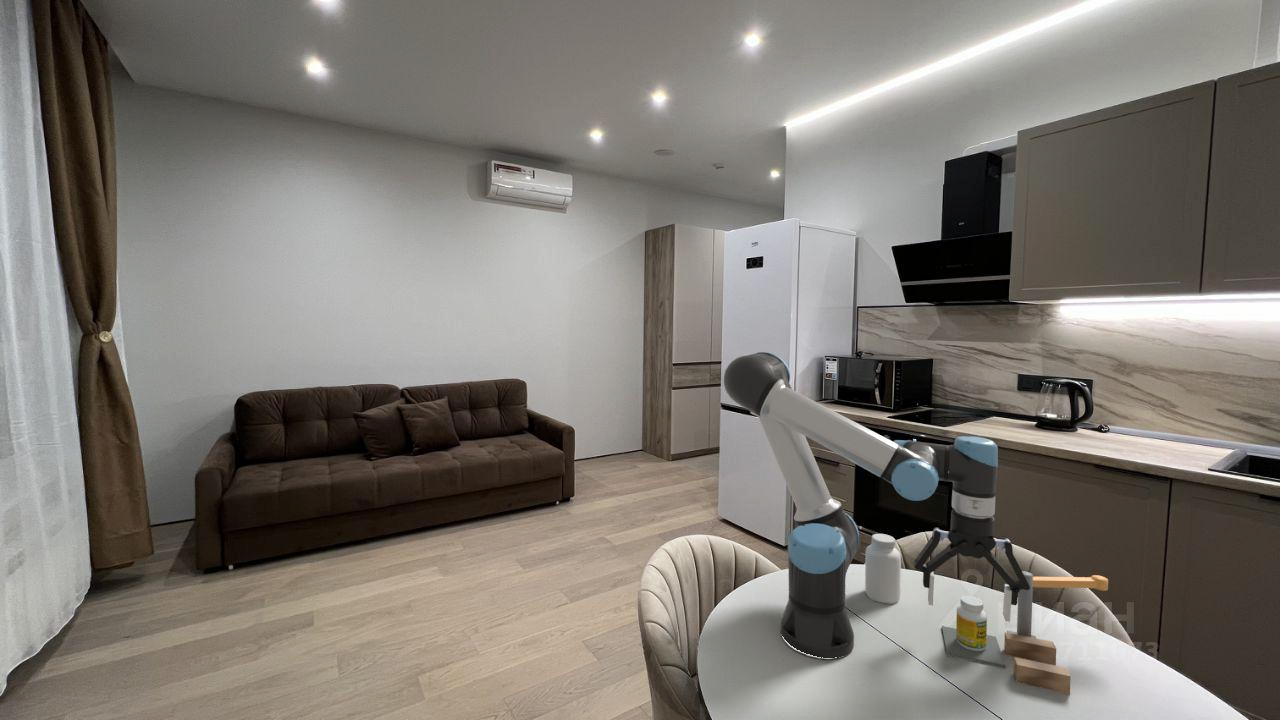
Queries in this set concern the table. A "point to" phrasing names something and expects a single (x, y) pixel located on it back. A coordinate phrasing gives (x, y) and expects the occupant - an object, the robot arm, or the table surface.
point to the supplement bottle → (971, 624)
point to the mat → (986, 656)
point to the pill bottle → (883, 569)
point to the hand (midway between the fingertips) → (967, 609)
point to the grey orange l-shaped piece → (1051, 582)
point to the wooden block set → (1036, 663)
